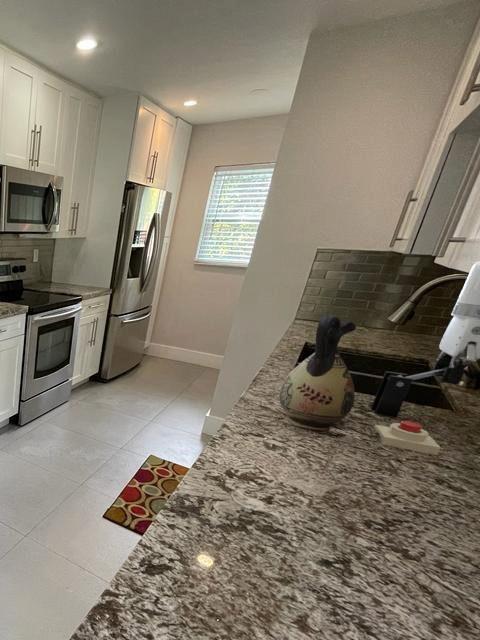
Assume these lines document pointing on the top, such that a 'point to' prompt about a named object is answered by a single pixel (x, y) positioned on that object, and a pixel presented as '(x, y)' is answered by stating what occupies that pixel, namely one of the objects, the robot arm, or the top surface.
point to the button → (410, 426)
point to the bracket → (391, 394)
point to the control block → (407, 439)
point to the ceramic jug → (320, 381)
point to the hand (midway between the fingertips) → (444, 378)
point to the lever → (427, 373)
